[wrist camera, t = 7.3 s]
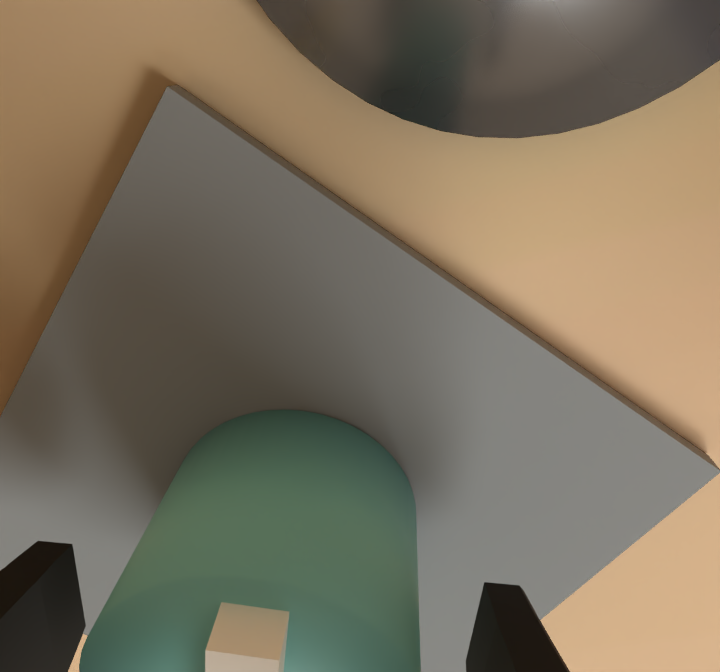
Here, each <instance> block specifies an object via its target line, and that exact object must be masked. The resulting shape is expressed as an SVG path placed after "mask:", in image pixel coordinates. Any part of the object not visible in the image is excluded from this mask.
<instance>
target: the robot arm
mask: <svg viewBox="0 0 720 672" xmlns="http://www.w3.org/2000/svg"><path fill="white" fill-rule="evenodd" d="M85 627H86V624H85V618H84V611H83V605H82V599H81V593H80V587H79V581H78V575H77V569H76V563H75V557H74V551H73V545H72V544H68V543H57V542H46V541H37V542H36V543H34V544H33V545H32V546H31V547H29V548H28V549H27V550H25V551H24V552H23V553H22V554H20V555H19V556H18V557H17V558H15V559H14V560H13V561H12V562H10V563H9V564H8V565H7V566H5V567H4V568H3V569H2V570H1V571H0V672H68V669H69V667H70V665H71V662H72V660H73V657H74V655H75V652H76V650H77V647H78V645H79V642H80V640H81V637H82V634H83V632H84V629H85ZM466 672H570V671H569V669H568V668H567V666H566V664H565V663H564V661H563V659H562V658H561V656H560V654H559V653H558V651H557V649H556V647H555V646H554V644H553V642H552V641H551V639H550V637H549V635H548V634H547V632H546V630H545V628H544V627H543V625H542V623H541V621H540V619H539V618H538V616H537V614H536V612H535V610H534V608H533V607H532V605H531V603H530V601H529V599H528V597H527V595H526V594H525V592H524V590H523V589H522V588H521V587H520V586H519V585H510V584H500V583H489V582H484V585H483V590H482V594H481V598H480V602H479V607H478V611H477V615H476V619H475V623H474V628H473V632H472V636H471V640H470V645H469V649H468V653H467V657H466Z"/></svg>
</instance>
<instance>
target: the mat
mask: <svg viewBox="0 0 720 672" xmlns="http://www.w3.org/2000/svg"><path fill="white" fill-rule="evenodd" d="M267 410H298V411H307V412H312V413H317V414H322V415H325V416H328V417H332V418H335V419H338V420H340V421H342V422H345V423H347V424H349V425H352V426H354V427H355V428H357V429H359V430H361V431H362V432H364V433H366V434H367V435H369V436H370V437H371V438H373V439H374V440H375V441H377V442H378V443H379V444H381V445H382V446H383V447H384V448H385V449H386V450H387V451H388V452H389V453H390V454H391V455H392V456H393V458H394V459H395V460H396V461H397V463H398V464H399V465H400V467H401V468H402V470H403V472H404V473H405V475H406V477H407V478H408V481H409V483H410V486H411V488H412V491H413V494H414V499H415V504H416V521H417V556H418V590H419V624H420V658H421V672H466V657H467V653H468V649H469V645H470V640H471V636H472V632H473V628H474V623H475V619H476V615H477V611H478V607H479V602H480V598H481V594H482V590H483V585H484V582H489V583H500V584H510V585H519V586H520V587H521V588H522V589H523V590H524V592H525V594H526V595H527V597H528V599H529V601H530V603H531V605H532V607H533V608H534V610H535V612H536V614H537V616H538V618H539V619H540V620H541V619H542V618H543V617H544V616H546V615H547V614H548V613H549V612H550V611H552V610H553V609H554V608H555V607H557V606H558V605H559V604H560V603H561V602H563V601H564V600H565V599H566V598H568V597H569V596H570V595H571V594H572V593H574V592H575V591H576V590H577V589H579V588H580V587H581V586H582V585H583V584H585V583H586V582H587V581H588V580H590V579H591V578H592V577H593V576H594V575H596V574H597V573H598V572H599V571H601V570H602V569H603V568H604V567H605V566H607V565H608V564H609V563H610V562H611V561H613V560H614V559H615V558H616V557H618V556H619V555H620V554H621V553H622V552H624V551H625V550H626V549H627V548H629V547H630V546H631V545H632V544H633V543H635V542H636V541H637V540H638V539H640V538H641V537H642V536H643V535H644V534H646V533H647V532H648V531H649V530H651V529H652V528H653V527H654V526H655V525H657V524H658V523H659V522H660V521H662V520H663V519H664V518H665V517H666V516H668V515H669V514H670V513H671V512H673V511H674V510H675V509H676V508H677V507H679V506H680V505H681V504H682V503H684V502H685V501H686V500H687V499H688V498H690V497H691V496H692V495H693V494H695V493H696V492H697V491H698V490H699V489H701V488H702V487H703V486H704V485H705V484H707V483H708V482H709V481H710V480H712V479H713V478H714V477H715V476H716V475H718V474H719V473H720V469H719V468H718V467H717V466H716V464H715V463H714V462H713V461H712V459H711V458H710V457H709V456H708V455H707V454H705V453H704V452H702V451H701V450H700V449H698V448H697V447H695V446H694V445H692V444H691V443H690V442H688V441H687V440H685V439H684V438H682V437H681V436H679V435H678V434H677V433H675V432H674V431H672V430H671V429H669V428H668V427H667V426H665V425H664V424H662V423H661V422H659V421H658V420H657V419H655V418H654V417H652V416H651V415H649V414H648V413H647V412H645V411H644V410H642V409H641V408H639V407H638V406H637V405H635V404H634V403H632V402H631V401H629V400H628V399H627V398H625V397H624V396H622V395H621V394H619V393H618V392H617V391H615V390H614V389H612V388H611V387H609V386H608V385H607V384H605V383H604V382H602V381H601V380H599V379H598V378H596V377H595V376H594V375H592V374H591V373H589V372H588V371H586V370H585V369H584V368H582V367H581V366H579V365H578V364H576V363H575V362H574V361H572V360H571V359H569V358H568V357H566V356H565V355H564V354H562V353H561V352H559V351H558V350H556V349H555V348H554V347H552V346H551V345H549V344H548V343H546V342H545V341H544V340H542V339H541V338H539V337H538V336H536V335H535V334H534V333H532V332H531V331H529V330H528V329H526V328H525V327H524V326H522V325H521V324H519V323H518V322H516V321H515V320H513V319H512V318H511V317H509V316H508V315H506V314H505V313H503V312H502V311H501V310H499V309H498V308H496V307H495V306H493V305H492V304H491V303H489V302H488V301H486V300H485V299H483V298H482V297H481V296H479V295H478V294H476V293H475V292H473V291H472V290H471V289H469V288H468V287H466V286H465V285H463V284H462V283H461V282H459V281H458V280H456V279H455V278H453V277H452V276H451V275H449V274H448V273H446V272H445V271H443V270H442V269H440V268H439V267H438V266H436V265H435V264H433V263H432V262H430V261H429V260H428V259H426V258H425V257H423V256H422V255H420V254H419V253H418V252H416V251H415V250H413V249H412V248H410V247H409V246H408V245H406V244H405V243H403V242H402V241H400V240H399V239H398V238H396V237H395V236H393V235H392V234H390V233H389V232H388V231H386V230H385V229H383V228H382V227H380V226H379V225H378V224H376V223H375V222H373V221H372V220H370V219H369V218H368V217H366V216H365V215H363V214H362V213H360V212H359V211H357V210H356V209H355V208H353V207H352V206H350V205H349V204H347V203H346V202H345V201H343V200H342V199H340V198H339V197H337V196H336V195H335V194H333V193H332V192H330V191H329V190H327V189H326V188H325V187H323V186H322V185H320V184H319V183H317V182H316V181H315V180H313V179H312V178H310V177H309V176H307V175H306V174H305V173H303V172H302V171H300V170H299V169H297V168H296V167H295V166H293V165H292V164H290V163H289V162H287V161H286V160H284V159H283V158H282V157H280V156H279V155H277V154H276V153H274V152H273V151H272V150H270V149H269V148H267V147H266V146H264V145H263V144H262V143H260V142H259V141H257V140H256V139H254V138H253V137H252V136H250V135H249V134H247V133H246V132H244V131H243V130H242V129H240V128H239V127H237V126H236V125H234V124H233V123H232V122H230V121H229V120H227V119H226V118H224V117H223V116H222V115H220V114H219V113H217V112H216V111H214V110H213V109H212V108H210V107H209V106H207V105H206V104H204V103H203V102H201V101H200V100H199V99H197V98H196V97H194V96H193V95H191V94H190V93H189V92H187V91H186V90H184V89H183V88H181V87H180V86H179V85H174V86H167V88H166V90H165V92H164V94H163V96H162V98H161V100H160V102H159V104H158V106H157V108H156V110H155V112H154V113H153V115H152V117H151V119H150V121H149V123H148V125H147V127H146V129H145V131H144V133H143V135H142V137H141V139H140V141H139V143H138V145H137V147H136V149H135V151H134V153H133V155H132V157H131V159H130V161H129V163H128V165H127V167H126V169H125V171H124V173H123V175H122V177H121V179H120V181H119V183H118V185H117V187H116V189H115V191H114V193H113V195H112V197H111V199H110V201H109V203H108V205H107V206H106V208H105V210H104V212H103V214H102V216H101V218H100V220H99V222H98V224H97V226H96V228H95V230H94V232H93V234H92V236H91V238H90V240H89V242H88V244H87V246H86V248H85V250H84V252H83V254H82V256H81V258H80V260H79V262H78V264H77V266H76V268H75V270H74V272H73V274H72V276H71V278H70V280H69V282H68V284H67V286H66V288H65V290H64V292H63V294H62V296H61V298H60V300H59V301H58V303H57V305H56V307H55V309H54V311H53V313H52V315H51V317H50V319H49V321H48V323H47V325H46V327H45V329H44V331H43V333H42V335H41V337H40V339H39V341H38V343H37V345H36V347H35V349H34V351H33V353H32V355H31V357H30V359H29V361H28V363H27V365H26V367H25V369H24V371H23V373H22V375H21V377H20V379H19V381H18V383H17V385H16V387H15V389H14V391H13V393H12V394H11V396H10V398H9V400H8V402H7V404H6V406H5V408H4V410H3V412H2V414H1V416H0V571H1V570H2V569H3V568H4V567H5V566H7V565H8V564H9V563H10V562H12V561H13V560H14V559H15V558H17V557H18V556H19V555H20V554H22V553H23V552H24V551H25V550H27V549H28V548H29V547H31V546H32V545H33V544H34V543H36V542H37V541H46V542H57V543H68V544H72V545H73V551H74V557H75V563H76V569H77V575H78V581H79V587H80V593H81V599H82V605H83V611H84V618H85V624H86V627H85V629H84V632H83V634H85V635H87V636H88V635H89V633H90V631H91V629H92V627H93V626H94V624H95V622H96V620H97V618H98V616H99V615H100V613H101V611H102V609H103V607H104V605H105V604H106V602H107V600H108V598H109V596H110V594H111V593H112V591H113V589H114V587H115V585H116V583H117V582H118V580H119V578H120V576H121V574H122V572H123V571H124V569H125V567H126V565H127V563H128V561H129V559H130V558H131V556H132V554H133V552H134V550H135V548H136V547H137V545H138V543H139V541H140V539H141V537H142V536H143V534H144V532H145V530H146V528H147V526H148V525H149V523H150V521H151V519H152V517H153V515H154V514H155V512H156V510H157V508H158V506H159V504H160V503H161V501H162V499H163V497H164V495H165V493H166V492H167V490H168V488H169V486H170V484H171V482H172V481H173V479H174V477H175V475H176V473H177V471H178V470H179V468H180V466H181V464H182V462H183V460H184V459H185V457H186V456H187V454H188V453H189V451H190V450H191V448H192V447H193V446H194V445H195V444H196V443H197V442H198V441H199V440H200V439H201V438H202V437H203V436H204V435H206V434H207V433H208V432H209V431H211V430H212V429H214V428H216V427H217V426H219V425H221V424H222V423H224V422H227V421H229V420H232V419H234V418H236V417H239V416H243V415H246V414H250V413H254V412H260V411H267Z"/></svg>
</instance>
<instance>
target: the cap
mask: <svg viewBox="0 0 720 672" xmlns="http://www.w3.org/2000/svg"><path fill="white" fill-rule="evenodd" d="M79 671H80V672H421V658H420V624H419V590H418V556H417V521H416V504H415V499H414V494H413V491H412V488H411V486H410V483H409V481H408V478H407V477H406V475H405V473H404V472H403V470H402V468H401V467H400V465H399V464H398V463H397V461H396V460H395V459H394V458H393V456H392V455H391V454H390V453H389V452H388V451H387V450H386V449H385V448H384V447H383V446H382V445H381V444H379V443H378V442H377V441H375V440H374V439H373V438H371V437H370V436H369V435H367V434H366V433H364V432H362V431H361V430H359V429H357V428H355V427H354V426H352V425H349V424H347V423H345V422H342V421H340V420H338V419H335V418H332V417H328V416H325V415H322V414H317V413H312V412H307V411H298V410H267V411H260V412H254V413H250V414H246V415H243V416H239V417H236V418H234V419H232V420H229V421H227V422H224V423H222V424H221V425H219V426H217V427H216V428H214V429H212V430H211V431H209V432H208V433H207V434H206V435H204V436H203V437H202V438H201V439H200V440H199V441H198V442H197V443H196V444H195V445H194V446H193V447H192V448H191V450H190V451H189V453H188V454H187V456H186V457H185V459H184V460H183V462H182V464H181V466H180V468H179V470H178V471H177V473H176V475H175V477H174V479H173V481H172V482H171V484H170V486H169V488H168V490H167V492H166V493H165V495H164V497H163V499H162V501H161V503H160V504H159V506H158V508H157V510H156V512H155V514H154V515H153V517H152V519H151V521H150V523H149V525H148V526H147V528H146V530H145V532H144V534H143V536H142V537H141V539H140V541H139V543H138V545H137V547H136V548H135V550H134V552H133V554H132V556H131V558H130V559H129V561H128V563H127V565H126V567H125V569H124V571H123V572H122V574H121V576H120V578H119V580H118V582H117V583H116V585H115V587H114V589H113V591H112V593H111V594H110V596H109V598H108V600H107V602H106V604H105V605H104V607H103V609H102V611H101V613H100V615H99V616H98V618H97V620H96V622H95V624H94V626H93V627H92V629H91V631H90V633H89V635H88V637H87V639H86V642H85V644H84V646H83V649H82V653H81V658H80V664H79Z"/></svg>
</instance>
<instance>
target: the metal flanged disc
mask: <svg viewBox="0 0 720 672" xmlns="http://www.w3.org/2000/svg"><path fill="white" fill-rule="evenodd" d="M257 1H258V3H259V4H260V6H261V7H262V8H263V10H264V11H265V13H266V14H267V15H268V17H269V18H270V20H271V21H272V22H273V23H274V24H275V25H276V26H277V27H278V28H279V30H280V31H281V32H282V33H283V34H284V35H285V36H286V37H287V38H288V39H289V41H290V42H291V43H292V44H293V45H294V46H295V47H296V48H297V49H298V50H299V52H300V53H302V54H303V55H304V56H305V57H306V58H307V59H309V60H310V61H311V62H312V63H313V64H314V65H316V66H317V67H318V68H319V69H320V70H321V71H323V72H324V73H325V74H326V75H327V76H328V77H330V78H331V79H332V80H333V81H335V82H336V83H338V84H339V85H341V86H343V87H344V88H346V89H347V90H349V91H350V92H352V93H353V94H355V95H356V96H358V97H360V98H361V99H363V100H364V101H366V102H367V103H369V104H372V105H374V106H376V107H378V108H380V109H382V110H384V111H387V112H389V113H391V114H393V115H395V116H397V117H399V118H401V119H404V120H407V121H410V122H413V123H417V124H420V125H423V126H426V127H430V128H433V129H436V130H439V131H445V132H451V133H457V134H463V135H469V136H475V137H498V138H522V137H531V136H540V135H549V134H558V133H562V132H566V131H570V130H574V129H579V128H583V127H587V126H591V125H595V124H599V123H601V122H604V121H607V120H609V119H612V118H614V117H617V116H620V115H622V114H625V113H628V112H630V111H633V110H635V109H638V108H640V107H642V106H644V105H646V104H648V103H650V102H652V101H654V100H656V99H657V98H659V97H661V96H663V95H665V94H667V93H669V92H671V91H673V90H675V89H677V88H679V87H680V86H682V85H683V84H685V83H686V82H688V81H689V80H691V79H692V78H694V77H695V76H697V75H698V74H700V73H701V72H702V71H704V70H705V69H707V68H708V67H710V66H711V65H713V64H714V63H716V62H717V61H719V60H720V0H257Z"/></svg>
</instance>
